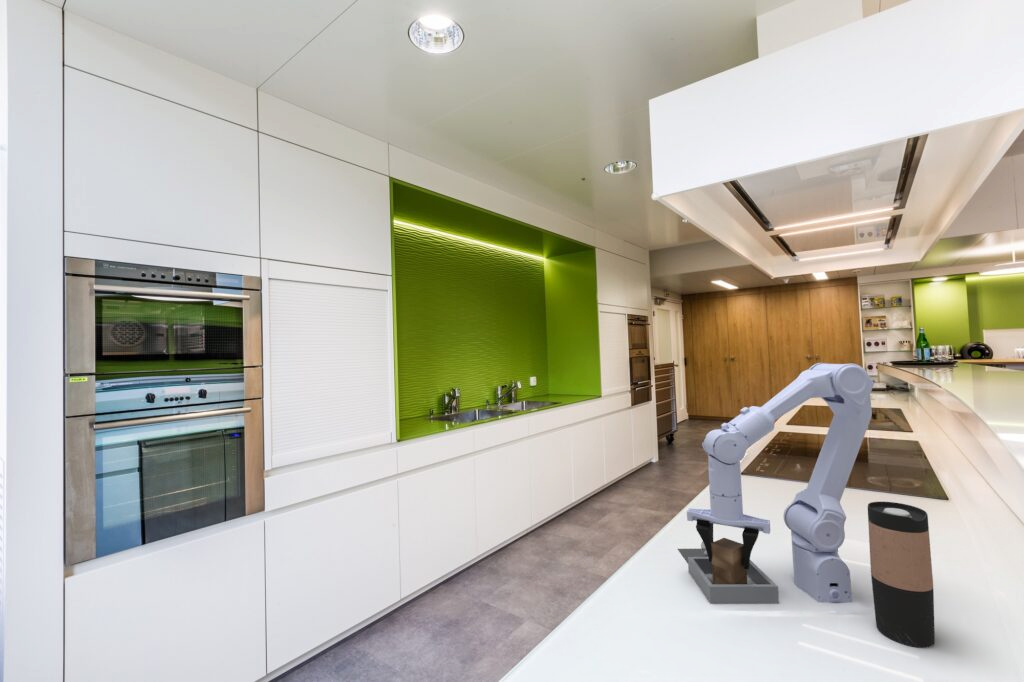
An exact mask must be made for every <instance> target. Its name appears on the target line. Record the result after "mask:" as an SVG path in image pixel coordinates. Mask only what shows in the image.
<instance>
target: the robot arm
mask: <svg viewBox="0 0 1024 682" xmlns="http://www.w3.org/2000/svg"><path fill="white" fill-rule="evenodd" d="M874 384H875V382H874V381H873V379H872V378H871V375H869V373H868V371H867V370H866V369H865V368H864V367H863V366H861V365H859V364H856V363H828V362H818V363H815V364H813V365H811V366H810V367H809V368H808V369H806V370H803V371H802V372H800V374H799V375H798V377H796V379H794V380H793V381H791V383H789V384H788V385H787V386H786V387H784V388H783V389H782V390H781V391H779V392H778V393H777V394H776V395H775V396H773V397H772V398H771V399H769V400H768V401H767V402H765V403H764V404H763V405H762V406H756V405H755V406H754V405H752V406H750V407H746V406H744V407H743V408H741V409H740V410H739V411H740V414H738V415H736V416H735V417H734V418H733V419H731V420H730V421H729V422H727V423H726V422H723V423H722V424H720V427H721V428H719V429H718V428H717V429H713V430H710V431H709V432H708V433H707V434H706V435H705V438H704V440H703V442H702V443H701V445H702V448H703V451H704V452H705V453H706V454H707V457H708V461H707V463H708V467H707V469H708V485H709V503H710V505H709V507H710V509H705V508H704V509H703V508H701V509H700V508H690V507H689V508H688V509H687V510H686V520H687V521H689V522H694V521H696V525H695V529H696V532H697V533H698V535H699V536H700V537H699V538H701V540H702V542H703V543H704V545H705V548H706V550H707V554H708V558H709V561H710V562H712V551H711V543H713V542H714V524H715V525H720V526H726V527H727V526H728V527H733V528H739V529H743V531H742V535H741V536H742V544H743V546H744V569H749V565H750V560H751V554H752V551H753V548H754V546H755V544H756V542H757V539H758V537H759V534H760V532H761V533H763V534H766V535H767V534H768V535H770V533H771V521H770V520H769V519H765V518H759V517H755V516H752V515H748V514H744V509H743V507H744V505H743V492H742V489H743V488H742V475H741V474H742V470H741V461H742V460H744V458H745V456H746V452H747V449H749V448H750V447H752V446H754V444H756V443H757V442H759V441H760V440H762V438H764V437H766V436H767V435H768V434H770V433H771V432H773V431H774V429H775V423H776V421H777V420H778V419H780V418H781V417H783V416H784V415H786V414H788V413H790V412H791V411H792V410H794V409H795V408H797V407H798V406H801V405H802V404H803V403H805V402H807V401H808V400H810V399H814V398H815V399H816V398H817V399H819V398H820V399H822V400H823V401H824V402H825V403H826V404H827V406H828V407H829V409H830V410H831V411H832V413H833V417H832V420H831V422H830V425H829V428H828V429H827V433H826V436H825V439H824V440H823V441H824V442H823V443H822V446H821V449H820V452H819V454H818V457H817V460H816V462H815V465H814V468H813V470H812V474H811V475H810V478H809V481H808V484H807V487H806V488H805V489H803V490H801V491H799V492H797V493H796V494H795V497H794V498H793V500H792V502H791V503H790V504H789V505H787V507H786V508H785V509H784V511H783V521H784V522H783V523H784V524H785V526H786V527H787V528H788V529H789V530H790V536H791V550H792V551H791V553H792V571H793V583H794V585H795V586H796V588H798V589H799V590H802V591H803V592H805V593H807V594H808V595H809V597H811V598H812V599H813V600H815V601H816V602H817V603H853V600H852V599H853V598H852V597H853V596H852V585H851V584H852V583H851V582H852V581H851V572H850V571H851V570H850V568H849V566H848V565H847V563H846V562H844V560H843V559H842V558H841V557H840V555H839V549H840V547H842V545H843V544H844V541H845V539H846V538H845V537H846V533H845V523H846V520H847V515H846V513H845V510H844V508H843V507H842V504H841V501H842V500H841V499H842V497H843V495H844V492H845V489H846V486H847V484H848V482H849V478H850V476H851V473H852V471H853V468H854V465H855V462H856V459H857V457H858V454H859V452H860V448H861V447H862V444H863V440H864V438H865V436H866V433H867V430H868V427H869V425H870V421H871V419H872V415H873V411H872V401H871V399H872V398H871V393H872V390H873V387H874Z"/></svg>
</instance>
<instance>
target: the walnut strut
mask: <svg viewBox="0 0 1024 682" xmlns="http://www.w3.org/2000/svg"><path fill="white" fill-rule="evenodd" d="M711 551H712V584H748V575H747V569H744V546H743V543H741V542H738V541H736V540H731V539H729V538H726V537H722V538H720V539H718V540H716V541H713V543H711Z"/></svg>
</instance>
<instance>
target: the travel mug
mask: <svg viewBox="0 0 1024 682" xmlns="http://www.w3.org/2000/svg"><path fill="white" fill-rule="evenodd" d="M867 519H868V520H867V523H868V540H869V541H868V543H869V544H868V545H869V561H870V562H869V563H870V564H869V565H870V576H871V586H872V598H873V605H874V606H873V608H874V616H875V625H876V628H877V630H878V631H879V632H880V633H881V634H882V635H883V636H885V638H886V637H887V638H888V639H890V640H892V641H894V642H897V643H899V644H902V645H905V646H908V647H913V648H922V649H925V648H930V647H933V646H934V645H935V639H936V637H935V636H936V635H935V633H936V632H935V600H934V599H935V597H934V596H935V595H934V592H935V591H934V580H933V579H934V578H933V566H932V556H931V554H932V551H931V542H930V529H929V528H930V527H929V516H928V513H927V511H925V510H924V509H923V508H921V507H917V506H914V505H909V504H906V503H905V504H904V503H902V502H901V503H900V502H894V501H893V502H892V501H871V502H869V503H867Z"/></svg>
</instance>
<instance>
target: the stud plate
mask: <svg viewBox="0 0 1024 682" xmlns="http://www.w3.org/2000/svg"><path fill="white" fill-rule="evenodd" d="M677 551H678V552H679V554H680V555H681V556H682V557H683V559H684V561H685V562H686V564H688V557H708V554H707V550H706V548H705V545H704V543H703V541H701V544H700V548H677Z"/></svg>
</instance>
